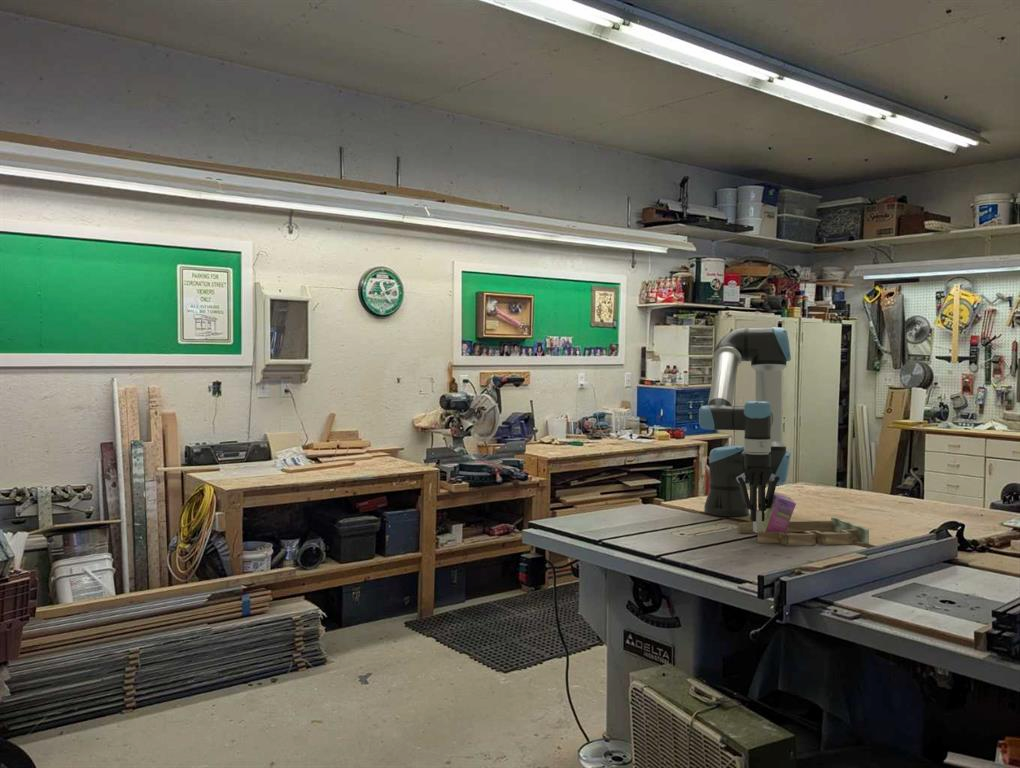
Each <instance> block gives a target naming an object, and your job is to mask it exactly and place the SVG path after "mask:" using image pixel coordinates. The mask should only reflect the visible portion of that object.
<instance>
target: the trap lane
mask: <svg viewBox="0 0 1020 768" xmlns="http://www.w3.org/2000/svg"><path fill="white" fill-rule="evenodd" d="M737 523H738V524H737V528H738V529H737V532H738V533H737V534H753V533H754V534H755V533H756V532H754V531H753V521H751V522H749V521H748V522H737ZM830 531H831V532H830ZM832 531H833V532H832ZM789 532H791V534H787V533H789ZM792 532H793V534H792ZM794 532H797V533H795V534H794ZM798 532H803V533H798ZM824 532H825V533H824ZM828 532H829V533H828ZM756 535H757V536H756V537H757V543H758V544H777V543H779V544H781V545H782V546H785V547H787V546H788V547H790V546H792V547H794V546H796V547H797V546H816V545H817V544H820V545H823V546H824V545H825V546H826V545H829V546H831V545H853V541H858V542H861V543H863V542H864V543H863V544H869V543H870V529H869V528H866V527H863V526H860V525H857V524H855V523H852V522H850V521H846V520H845V519H844V520H843V519H841V518H838V517H836V516H831V518H830V520H827V519H826V520H796V521H795V520H793V521H791V520H790V522H789V525H788V527H787V530H786V533H783V532H763V531H762V532H757V533H756ZM816 543H817V544H816Z"/></svg>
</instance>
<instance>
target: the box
mask: <svg viewBox="0 0 1020 768" xmlns="http://www.w3.org/2000/svg"><path fill="white" fill-rule="evenodd" d="M796 505H797V504H796V502H795V501H794V499H792V498H791V497H789V496H787V495H784V494H781V493H779V492H776V491H775V492H774V497H773V501H772V505H771V508H768V509H766V511H765V520H764V521H762V531H763V532H783V533H785V534H787V532H786V530H787V527H788V525H789V522H790V521H791V520H792V519H791V518H792V516H793V513H794V511H795V508H796Z"/></svg>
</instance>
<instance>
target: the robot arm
mask: <svg viewBox="0 0 1020 768" xmlns="http://www.w3.org/2000/svg"><path fill="white" fill-rule="evenodd" d="M713 351H714V352H713V355H712V359H713V362H714V367H713V368H714V369H713V373H712V380H711V385H710V389H709V390H710V391H709V396H708V402H707V404H706V405H702V406H700V407H699V410H698V423H699V427H700V428H701V429H703V430H711V431H744V439H743V440H744V441H743V444H744V445H728V446H727V445H726V446H720V447H719V446H718V447H715V448H713V449H711V450H710V452H709V458H708V459H709V461H708V463H709V465H708V466H709V469H708V470H709V471H708V473H709V478H708V479H709V480H708V481H709V487H708V488H709V489H708V490H709V491H708V494H707V496H706V500H705V503H704V505H703V511H704V513H705V514H707V515H708V514H709V515H712V516H718V517H719V516H721V517H743V516H747V515H749V514H750V517H749V518H750V521H751V522H753V531H754V532H756V534H757V532H762V521H764V520H765V511H766V509H768V508H771V505H772V501H773V497H774V492H775V493H776V487H777V486H783V485H784V484H786V482H787V480H788V476H789V475H788V474H789V470H790V463H791V455H792V454H791V451H789V450H787V446H786V444H785V443H784V441H782V418H783V417H782V414H783V413H782V411H783V410H782V408H783V407H782V403H783V402H782V395H783V393H782V392H783V391H782V390H783V389H782V387H783V386H782V383H783V382H782V378H783V377H782V373H783V370H784V369H785V368H787V362H790V361H791V360H792V356H791V348H790V341H789V335H788V331H787V329H786V328H785V327H780V326H779V327H778V326H777V327H774V326H771V327H770V326H769V327H768V326H766V327H742V328H741V327H740V328H737V329H733V330H732V331H730V332H727V333H726V334H725V335H724V336H723V337H722V338H721V339H720V340H719V341H718V343H717V344H716V346H715V349H714V350H713ZM742 362H750V367H751V368H752V369H753V370H754V371H755V383H754V385H755V390H754V391H755V395H754V396H755V398H754V400H749V401H745V403H744V405H743V406H742V405H739V406H738V405H733V403H734V397H735V391H736V390H735V389H736V382H737V381H736V380H737V373H738V367H739V366H740V365H741V363H742ZM747 485H748V486H749V492H748V488H747V487H748V486H747ZM766 488H767V490H766Z"/></svg>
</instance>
